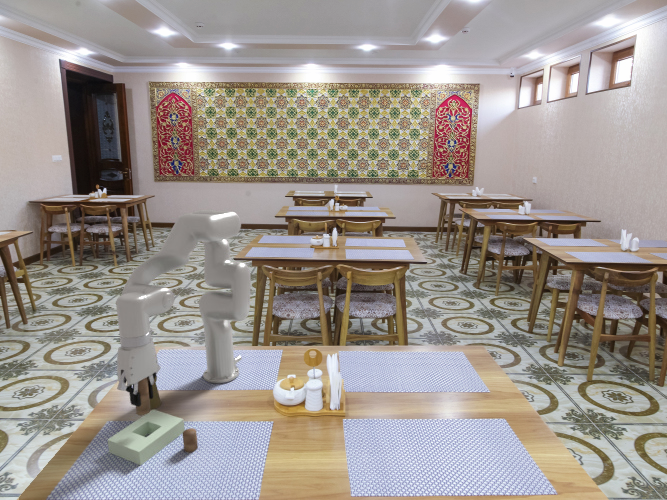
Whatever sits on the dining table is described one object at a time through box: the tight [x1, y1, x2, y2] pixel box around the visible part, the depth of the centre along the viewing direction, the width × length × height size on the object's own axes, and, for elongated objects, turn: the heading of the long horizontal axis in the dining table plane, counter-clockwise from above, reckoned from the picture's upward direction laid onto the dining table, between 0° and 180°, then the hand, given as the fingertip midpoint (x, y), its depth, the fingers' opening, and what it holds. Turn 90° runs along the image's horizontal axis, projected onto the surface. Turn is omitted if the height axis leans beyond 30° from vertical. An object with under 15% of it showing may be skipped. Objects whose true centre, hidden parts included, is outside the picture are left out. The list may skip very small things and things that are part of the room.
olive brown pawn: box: [150, 375, 162, 411], centre depth 148 cm, size 6×6×11 cm
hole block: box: [107, 409, 186, 466], centre depth 131 cm, size 16×12×4 cm
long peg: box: [135, 377, 152, 416], centre depth 127 cm, size 4×4×12 cm
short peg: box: [182, 427, 198, 454], centre depth 127 cm, size 4×4×5 cm
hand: (142, 400), depth 128 cm, fingers closed on long peg, 3 cm apart
